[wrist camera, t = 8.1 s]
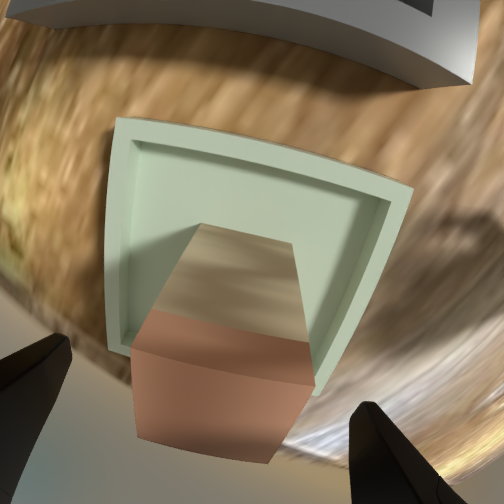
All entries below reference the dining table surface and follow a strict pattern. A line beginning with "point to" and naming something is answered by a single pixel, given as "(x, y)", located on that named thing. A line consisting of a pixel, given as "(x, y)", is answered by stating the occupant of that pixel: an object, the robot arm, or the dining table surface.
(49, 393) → the robot arm
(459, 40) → the grey cinder block
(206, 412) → the plug
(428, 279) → the dining table surface
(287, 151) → the tray
